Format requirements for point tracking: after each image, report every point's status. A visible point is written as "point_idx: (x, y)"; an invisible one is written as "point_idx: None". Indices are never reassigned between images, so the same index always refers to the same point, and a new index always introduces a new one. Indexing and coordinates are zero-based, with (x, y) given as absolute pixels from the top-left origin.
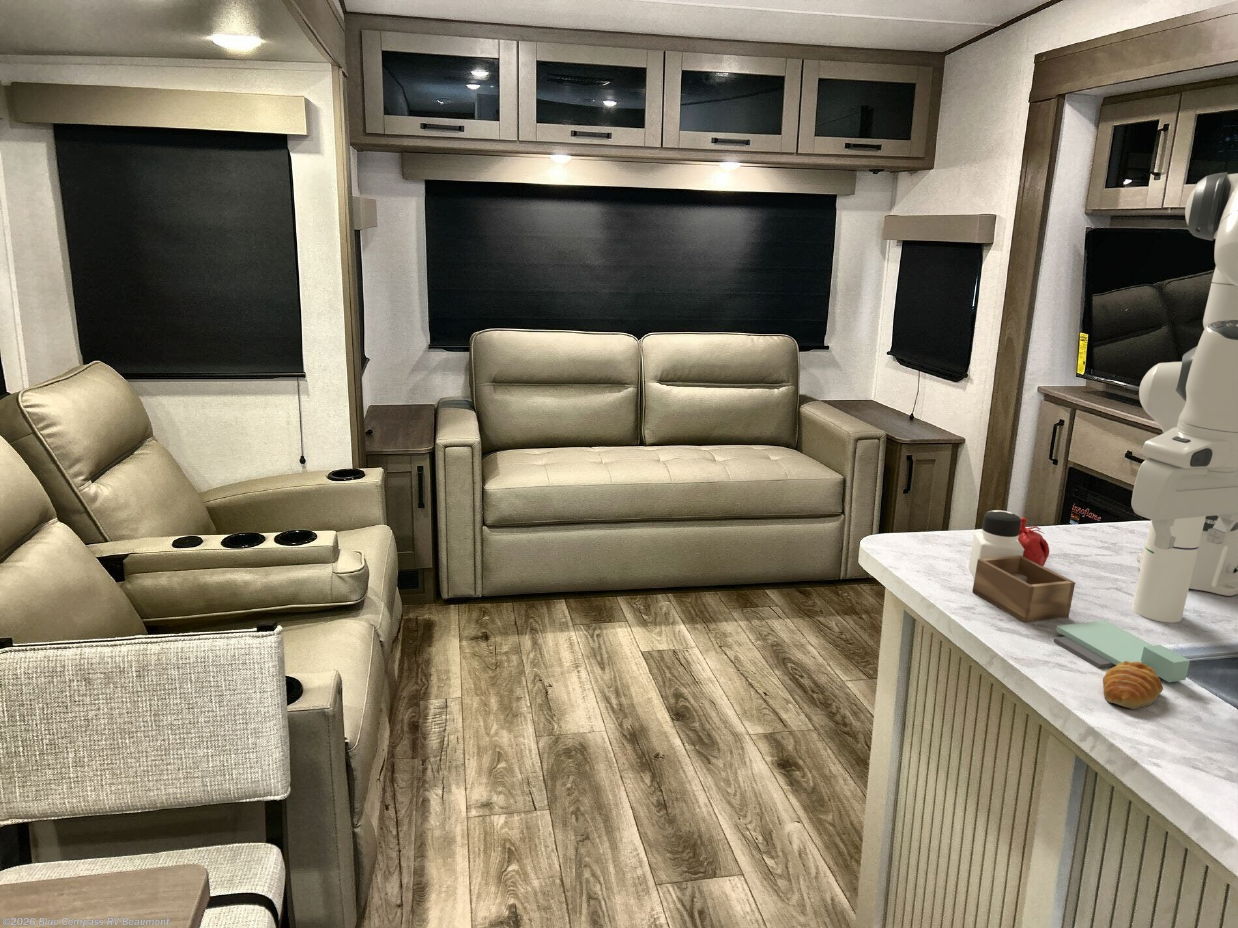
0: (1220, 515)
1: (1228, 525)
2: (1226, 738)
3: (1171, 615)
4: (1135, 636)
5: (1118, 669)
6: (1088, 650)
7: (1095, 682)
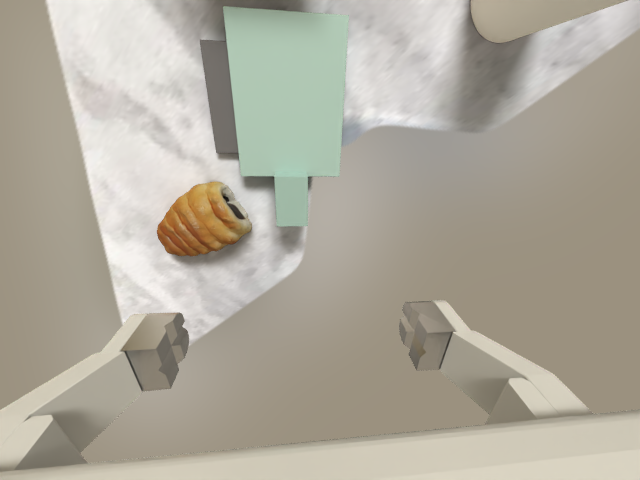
0: (505, 400)
1: (470, 394)
2: (247, 302)
3: (497, 36)
4: (342, 98)
5: (185, 214)
6: (231, 106)
7: (182, 183)
